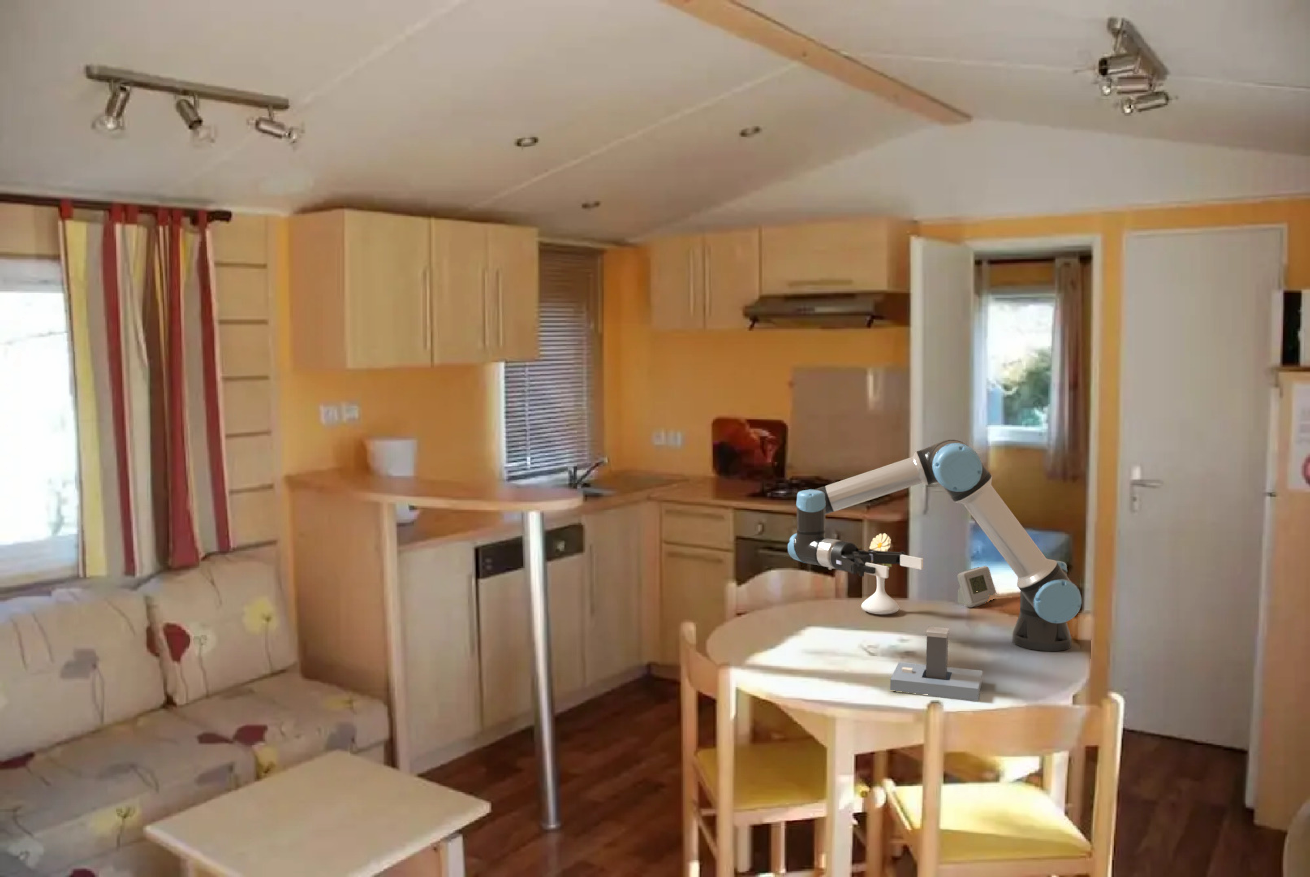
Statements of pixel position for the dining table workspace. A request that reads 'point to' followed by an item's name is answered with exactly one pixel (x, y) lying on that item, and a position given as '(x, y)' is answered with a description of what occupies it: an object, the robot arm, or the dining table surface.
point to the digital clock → (975, 586)
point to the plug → (937, 653)
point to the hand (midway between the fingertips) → (905, 568)
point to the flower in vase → (880, 584)
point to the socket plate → (937, 682)
